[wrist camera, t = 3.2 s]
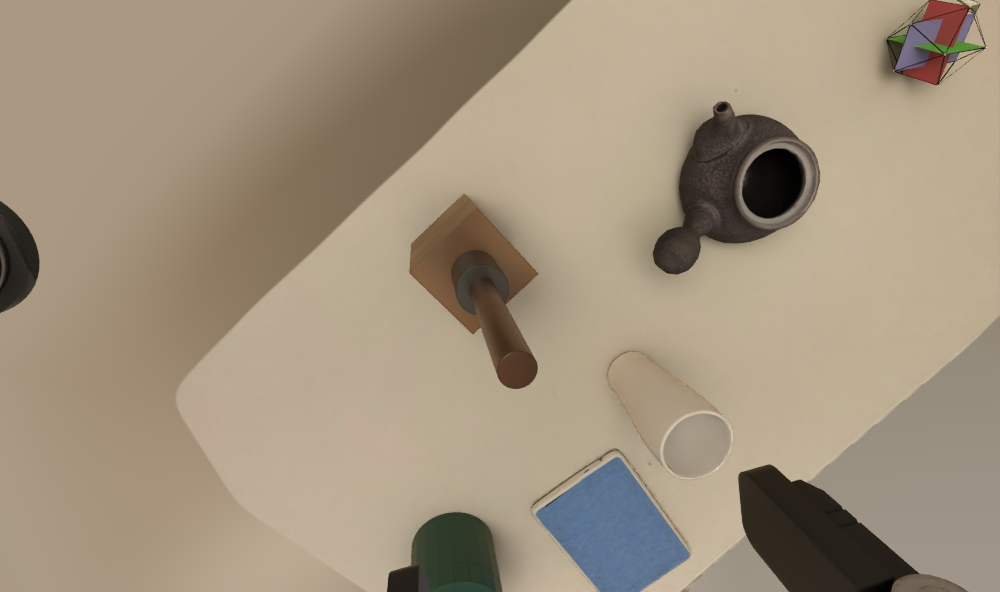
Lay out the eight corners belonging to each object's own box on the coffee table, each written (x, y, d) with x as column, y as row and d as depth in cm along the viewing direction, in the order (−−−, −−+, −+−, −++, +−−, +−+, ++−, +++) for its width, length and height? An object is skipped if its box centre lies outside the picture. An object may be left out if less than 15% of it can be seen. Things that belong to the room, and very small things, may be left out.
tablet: (526, 506, 60) (529, 513, 59) (616, 444, 60) (620, 451, 59) (609, 603, 66) (612, 612, 65) (690, 548, 66) (696, 556, 65)
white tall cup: (663, 345, 57) (743, 411, 43) (651, 400, 59) (725, 482, 45) (605, 341, 56) (668, 408, 42) (594, 398, 58) (652, 481, 44)
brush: (457, 301, 40) (486, 417, 23) (446, 256, 39) (467, 343, 22) (502, 289, 40) (564, 396, 23) (492, 245, 39) (549, 321, 22)
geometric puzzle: (950, 97, 52) (1028, 31, 44) (888, 108, 51) (957, 43, 44) (915, 42, 54) (983, -29, 47) (855, 53, 54) (915, -18, 46)
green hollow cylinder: (423, 589, 62) (424, 669, 52) (402, 525, 59) (398, 599, 49) (500, 566, 62) (514, 641, 53) (482, 502, 60) (494, 570, 50)
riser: (461, 293, 52) (472, 334, 41) (411, 243, 50) (408, 272, 39) (512, 245, 52) (538, 273, 40) (463, 193, 50) (477, 207, 38)
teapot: (727, 62, 50) (800, 42, 40) (806, 182, 55) (888, 190, 45) (581, 198, 51) (618, 211, 42) (670, 304, 56) (722, 336, 47)
